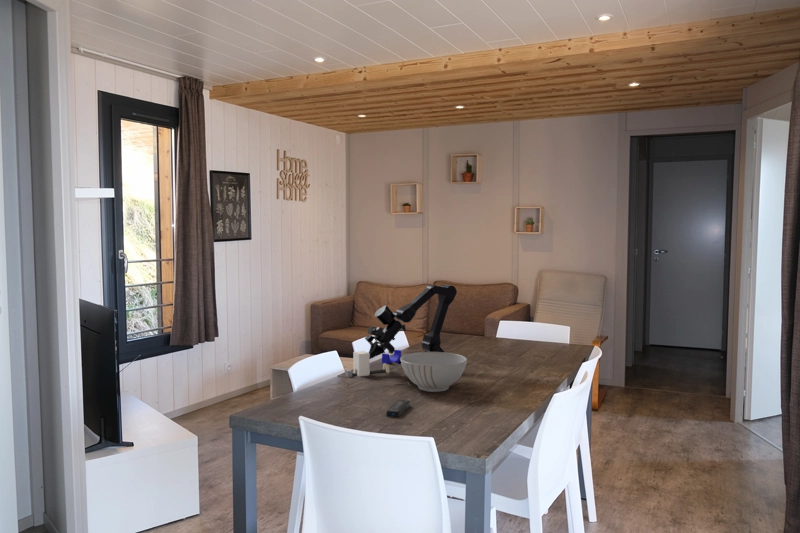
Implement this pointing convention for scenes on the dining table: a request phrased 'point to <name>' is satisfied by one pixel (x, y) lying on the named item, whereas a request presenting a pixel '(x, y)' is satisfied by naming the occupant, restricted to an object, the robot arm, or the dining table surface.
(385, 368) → the cord board
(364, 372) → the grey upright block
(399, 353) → the cable clip
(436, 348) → the robot arm
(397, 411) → the multiport hub
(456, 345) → the dining table surface
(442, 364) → the decorative bowl
